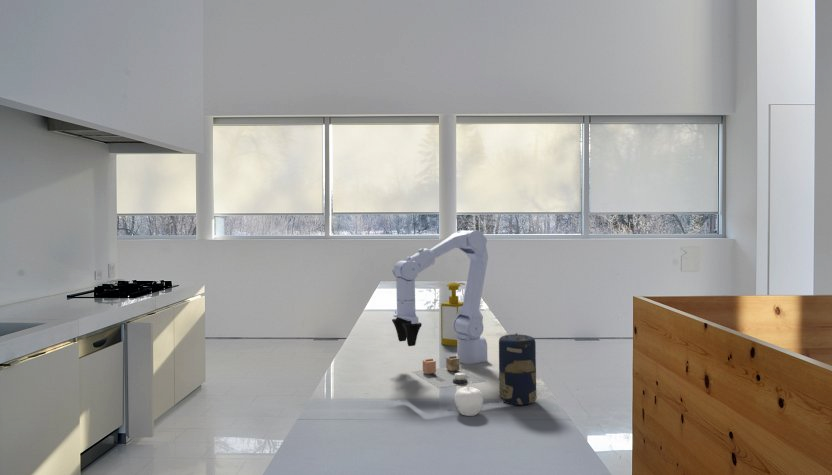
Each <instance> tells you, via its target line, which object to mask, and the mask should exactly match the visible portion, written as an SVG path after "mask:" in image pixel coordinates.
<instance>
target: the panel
mask: <svg viewBox="0 0 832 475" xmlns="http://www.w3.org/2000/svg"><path fill="white" fill-rule="evenodd" d="M412 373H413V374H415V375H417V376H418V377H419V378H421V379H423V380H425V381H426V382H428V383H430V384H432V385H433V386H435V387H436V388H438V389H440V388H449V387H454V386H456V387H457V386H461V385H469V384H470V382H472V383H471V384H478V383H483V382H486V380H484V379H483V378H481V377H478V376H476V375H474V374H473V373H470V372H468V371H466V370H464V369H462V368H460V367H459V370H454V371H450V370H448V369H446V367H441V368H436V373H431V374H426V373H424V372H423V370H417V371H416V370H415V371H412ZM455 373H465V380H455Z"/></svg>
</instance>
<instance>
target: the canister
mask: <svg viewBox="0 0 832 475" xmlns="http://www.w3.org/2000/svg"><path fill="white" fill-rule="evenodd" d="M536 350H537V349H536V339H535V338H534V337H533V336H530V335H527V334H518V333H517V332H516V333H515V334H514V333H513V334H505V335H502V336H500V337H499V339H498V366H499V367H498V377H499V378H498V384H499V385H498V388H499V391H498V392H499V398H500V399H501V400H502V401H503V403H505V404H509V405H510V404H511V405H528V404H532V403H533V402H534V401H536V398H537V359H536V358H537V352H536Z"/></svg>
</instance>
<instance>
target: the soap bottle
mask: <svg viewBox="0 0 832 475" xmlns="http://www.w3.org/2000/svg"><path fill="white" fill-rule="evenodd" d="M462 285H464V286H465V285H466V283H462V282H453V281H452V282H449V283H447V285H446V287H448V290H449V291H451V295H449V296H448V301H447V302H446V301H445V302H443V303H440V323H441V324H440V331H441V336H440V337H441V339H440V341H441V344H440V345H445V346H453V347H457V333H456V332H455V331H454V329H453V322H454V320H455V318H456V317H457V313H458V311H459V310H460V309H461V308H462V307H463V302H464V301H459V295H456V294H457V291H458V290H459V287H461V286H462Z"/></svg>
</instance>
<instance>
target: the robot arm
mask: <svg viewBox="0 0 832 475" xmlns="http://www.w3.org/2000/svg"><path fill="white" fill-rule="evenodd" d="M487 242H488V239H487V237H486V236H485V235H484V233H483V232H482V231H480V230H477V229H474V230H465V229H461V230H458V231H456V232H454V233H452V234H451V235H450V236H448V237H446V238H445V239H444V240H442V241H440V242H439V243H437V244H436V245H435V246H433V247H432V248H430V249H429V248H425V247H424V248H419V249H418V250H417V252H416V253H414V254H413V255H411V256H409V255H408V256H406V257H405V260H399V261H397V262H396V263H395V265H394V267H393V269H392V275H393V276H394V277H395V281H396V288H395V289H396V310H394V314H393V318H392V319H391V322H392V323H393V326H394V328H395V330H396V334H397V339H398V342H407V343H406V344H407V346H408V347H414V346H416V344H417V338H418V335H419V331H420V330H421V327H422V325H423V324H422V322H419V316H418V315H417V313H416V285H415V284H416V278H417V277H418V274H419V273H420V274H421V272H424V271H425V270H426V269H428V268H429V267H431V266H432V265H434V264H435V262H436V259H438V258H439V257H441V256H443V255H445V254H447V253H449V252H450V251H453V250H454V249H458V250H460V251H461V252H463V253H464V254H466V256H467V257H468V259H470V261H469V262H470V263H469V269H468V272H467V273H468V274H467V280H466V283H465V285H466V286H465V291H464V296H463V297H464V298H463V301H462V302H463V307H462V308H461V309H460V310H459V311H458V313H457V317H456V318H455V320H454V322H453V329H454V331H455V332H456V333H457V346H456V347H457V348H456V350H457V352H456V353H457V354H456V356H457V358H459V364H463V365H464V364H466V365H468V364H469V365H473V364H478V363H479V364H480V363H484V362H488V343H487V339H486V338H485V337H484V336H482V335H483V332H484V323H483V322H484V321H483V320H484V319H483V318H484V316H483V314H482V312H481V310H480V306H481V300H482V296H483V295H482V294H483V289H484V283H485V277H486V271H487V266H488V260H489V254H488V249H487Z"/></svg>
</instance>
